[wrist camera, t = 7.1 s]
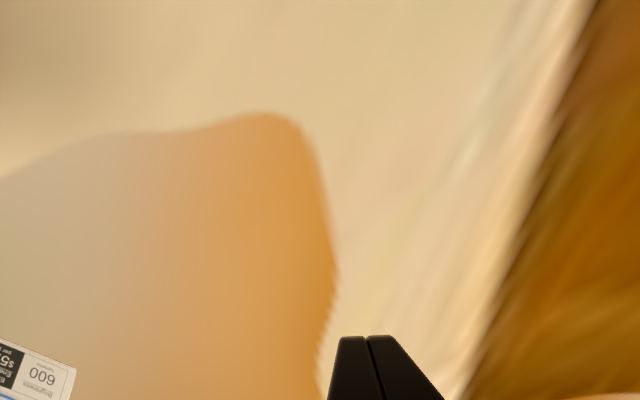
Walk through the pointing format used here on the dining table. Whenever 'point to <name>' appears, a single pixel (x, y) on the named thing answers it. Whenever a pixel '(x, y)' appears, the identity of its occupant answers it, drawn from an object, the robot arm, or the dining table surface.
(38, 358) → the light bulb box
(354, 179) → the dining table surface
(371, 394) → the robot arm
